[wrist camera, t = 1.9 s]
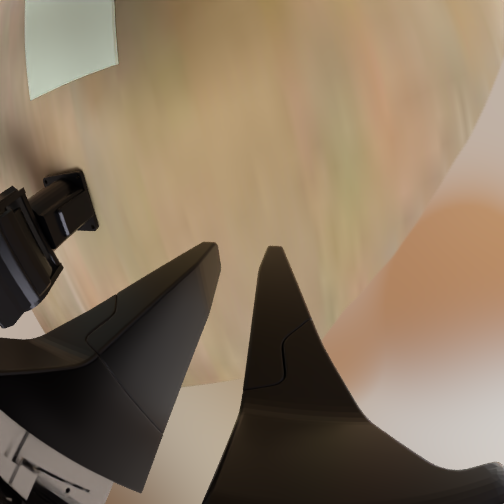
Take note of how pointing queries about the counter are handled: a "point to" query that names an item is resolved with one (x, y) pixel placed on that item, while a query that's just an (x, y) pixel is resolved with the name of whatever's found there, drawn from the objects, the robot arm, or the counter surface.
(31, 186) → the counter surface
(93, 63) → the sage silicone mat
